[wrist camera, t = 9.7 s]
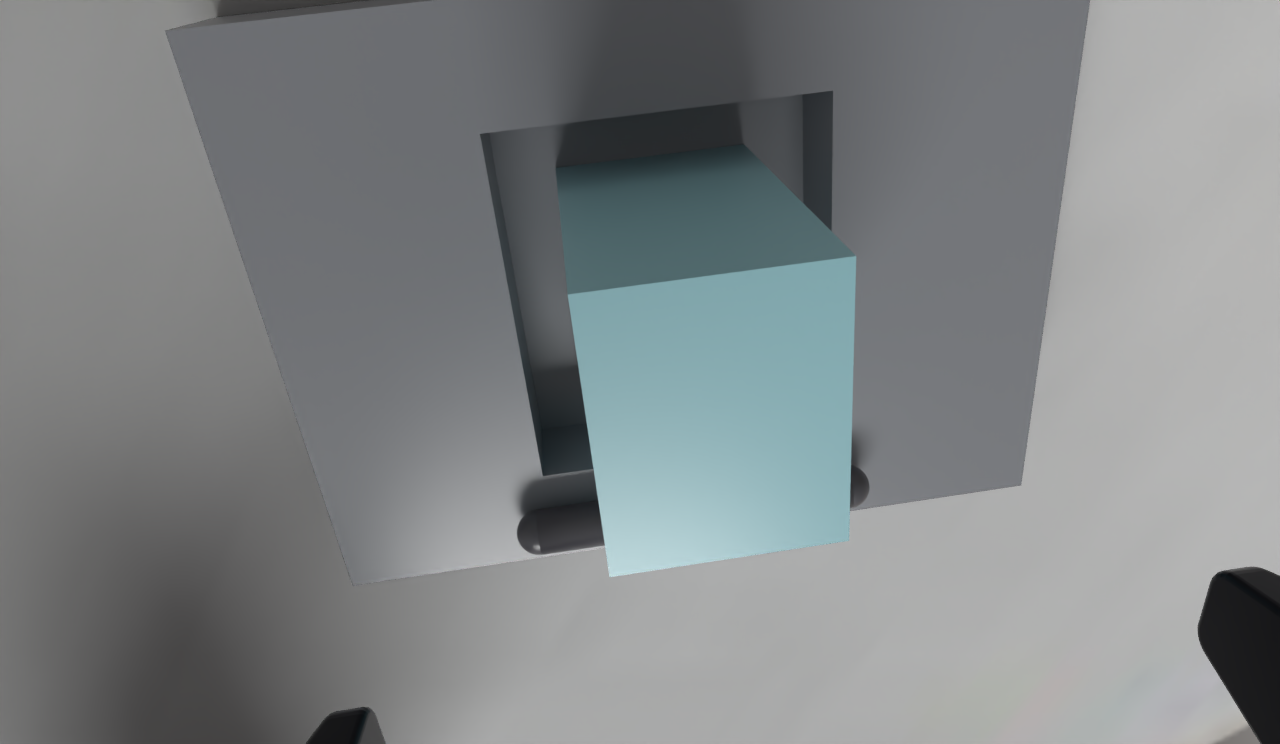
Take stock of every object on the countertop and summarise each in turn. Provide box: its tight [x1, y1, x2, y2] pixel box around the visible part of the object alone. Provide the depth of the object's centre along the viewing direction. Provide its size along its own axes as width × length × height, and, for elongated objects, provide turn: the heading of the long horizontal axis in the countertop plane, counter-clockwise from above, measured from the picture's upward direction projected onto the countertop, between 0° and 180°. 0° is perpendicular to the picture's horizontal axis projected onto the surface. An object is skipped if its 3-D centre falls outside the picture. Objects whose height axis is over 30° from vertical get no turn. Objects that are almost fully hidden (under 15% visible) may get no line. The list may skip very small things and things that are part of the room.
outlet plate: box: [165, 0, 1090, 586], centre depth 18 cm, size 16×12×4 cm
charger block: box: [555, 144, 856, 577], centre depth 16 cm, size 4×5×7 cm
